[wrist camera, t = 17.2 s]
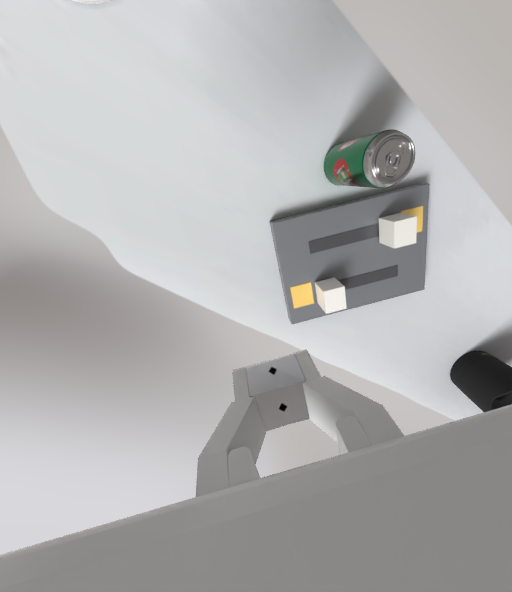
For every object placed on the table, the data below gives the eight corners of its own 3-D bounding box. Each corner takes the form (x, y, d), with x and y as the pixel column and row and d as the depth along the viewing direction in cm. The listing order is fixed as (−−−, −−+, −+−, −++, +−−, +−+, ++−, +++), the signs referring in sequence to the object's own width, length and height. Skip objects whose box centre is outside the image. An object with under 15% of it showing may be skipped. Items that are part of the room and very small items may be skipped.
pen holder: (497, 367, 56) (551, 404, 46) (456, 393, 57) (501, 434, 48) (483, 339, 52) (539, 373, 43) (440, 367, 53) (485, 406, 44)
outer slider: (314, 282, 40) (323, 291, 36) (334, 277, 40) (344, 286, 37) (317, 303, 41) (326, 313, 38) (336, 298, 41) (346, 308, 38)
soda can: (361, 143, 35) (425, 127, 24) (355, 185, 37) (412, 188, 26) (324, 143, 35) (372, 127, 24) (320, 185, 37) (363, 188, 26)
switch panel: (269, 221, 38) (272, 223, 36) (419, 183, 38) (429, 183, 36) (288, 318, 44) (292, 324, 43) (415, 284, 45) (424, 289, 43)
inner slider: (378, 218, 37) (394, 222, 34) (399, 212, 37) (417, 216, 34) (379, 242, 39) (394, 248, 35) (399, 237, 39) (416, 243, 35)
